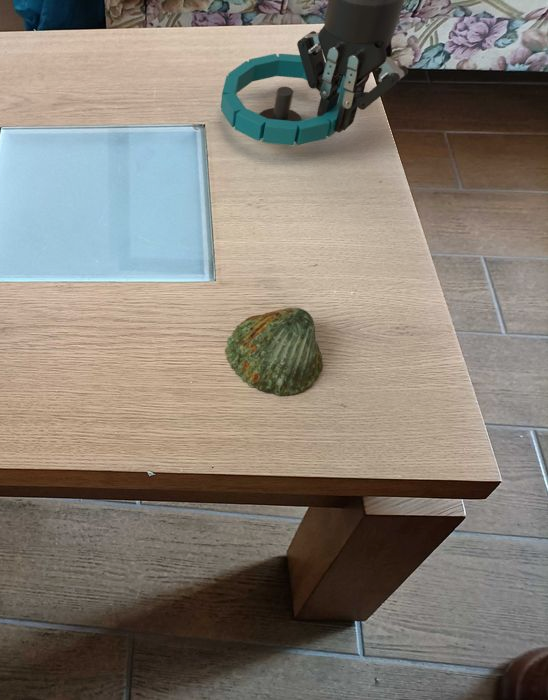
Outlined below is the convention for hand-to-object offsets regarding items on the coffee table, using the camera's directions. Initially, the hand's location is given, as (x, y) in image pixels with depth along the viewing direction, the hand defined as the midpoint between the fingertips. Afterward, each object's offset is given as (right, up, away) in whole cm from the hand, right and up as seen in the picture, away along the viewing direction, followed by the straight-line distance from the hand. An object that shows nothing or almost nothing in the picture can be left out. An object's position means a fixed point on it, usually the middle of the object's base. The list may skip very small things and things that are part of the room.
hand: (332, 124), depth 84 cm
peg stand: (-5, +2, +6) cm, 8 cm away
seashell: (-11, -29, -14) cm, 34 cm away
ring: (-5, +4, +4) cm, 7 cm away
